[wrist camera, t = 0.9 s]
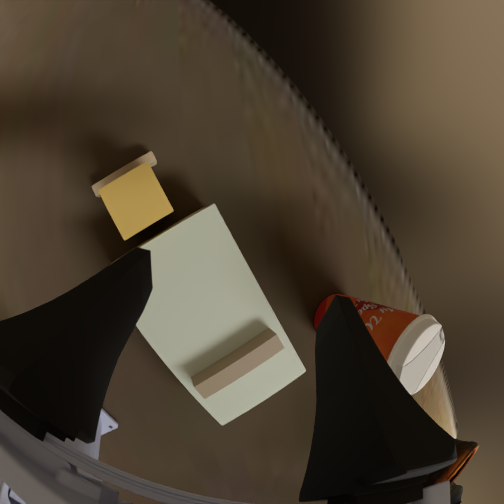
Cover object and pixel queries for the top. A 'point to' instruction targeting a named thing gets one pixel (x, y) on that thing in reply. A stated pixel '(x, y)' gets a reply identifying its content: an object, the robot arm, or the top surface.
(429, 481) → the vessel
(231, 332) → the lid
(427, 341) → the paper cup
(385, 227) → the top surface
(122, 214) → the yellow block
